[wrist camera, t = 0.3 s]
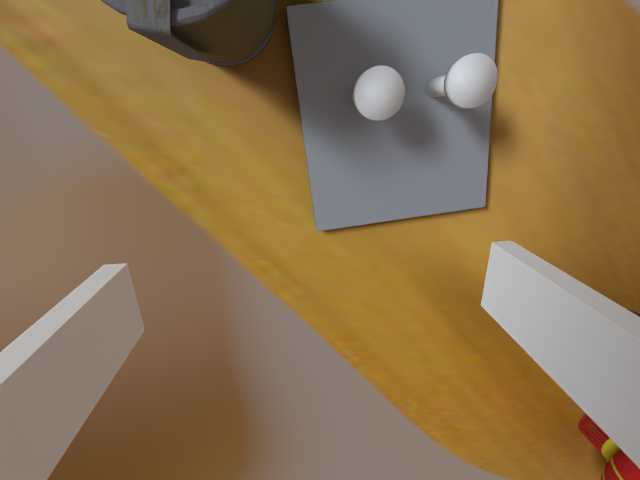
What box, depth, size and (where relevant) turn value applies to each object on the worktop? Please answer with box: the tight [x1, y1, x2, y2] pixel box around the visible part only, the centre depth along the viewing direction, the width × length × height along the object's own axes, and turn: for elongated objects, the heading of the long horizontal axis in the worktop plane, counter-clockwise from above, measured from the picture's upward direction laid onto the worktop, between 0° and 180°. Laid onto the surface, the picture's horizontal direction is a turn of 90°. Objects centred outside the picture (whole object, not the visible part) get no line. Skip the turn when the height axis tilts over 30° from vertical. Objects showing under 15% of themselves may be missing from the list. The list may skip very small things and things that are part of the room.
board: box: [286, 0, 498, 231], centre depth 32 cm, size 22×20×9 cm
